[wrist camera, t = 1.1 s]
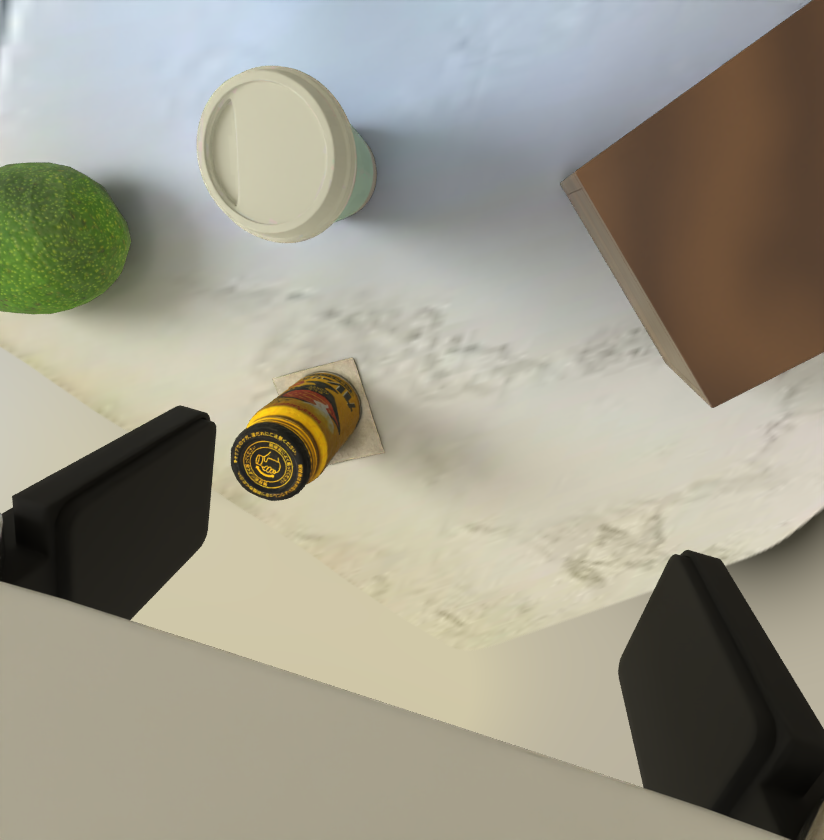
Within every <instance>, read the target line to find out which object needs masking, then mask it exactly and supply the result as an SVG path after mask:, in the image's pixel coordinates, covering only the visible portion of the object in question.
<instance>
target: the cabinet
mask: <svg viewBox="0 0 824 840" xmlns="http://www.w3.org/2000/svg"><path fill="white" fill-rule="evenodd" d="M560 185H561V187H562V188H563V190H564V192H565V193H566V195H567V197H568V198H569V200H570V202H571V204H572V205H573V207H574V209H575V210H576V212H577V214H578V215H579V217H580V219H581V220H582V222H583V224H584V226H585V227H586V229H587V231H588V232H589V234H590V236H591V237H592V239H593V241H594V243H595V244H596V246H597V248H598V249H599V251H600V253H601V254H602V256H603V258H604V259H605V261H606V263H607V265H608V266H609V268H610V270H611V271H612V273H613V275H614V276H615V278H616V280H617V282H618V283H619V285H620V287H621V288H622V290H623V292H624V293H625V295H626V297H627V298H628V300H629V302H630V304H631V305H632V307H633V309H634V310H635V312H636V314H637V315H638V317H639V319H640V321H641V322H642V324H643V326H644V327H645V329H646V331H647V332H648V334H649V336H650V337H651V339H652V341H653V343H654V344H655V346H656V348H657V349H658V351H659V353H660V354H661V356H662V358H663V360H664V361H665V363H666V364H667V365H668V366H669V367H670V368H671V369H672V370H673V371H674V372H675V373H676V374H677V375H678V376H679V377H680V378H681V379H682V380H683V381H684V382H685V383H687V384H688V385H689V386H690V387H691V388H692V389H693V390H694V391H695V392H696V393H697V394H698V395H699V396H700V397H701V398H702V399H703V400H704V401H705V402H706V403H707V404H708V405H709V406H710V407H712V408H714V407H716V406H718V405H720V404H722V403H724V402H726V401H728V400H730V399H732V398H734V397H736V396H738V395H740V394H742V393H744V392H746V391H748V390H750V389H752V388H754V387H756V386H758V385H760V384H762V383H764V382H766V381H768V380H770V379H772V378H774V377H776V376H777V375H779V374H781V373H783V372H785V371H787V370H789V369H791V368H793V367H795V366H797V365H799V364H801V363H803V362H805V361H807V360H809V359H811V358H813V357H815V356H817V355H819V354H821V353H823V352H824V0H812V1H811V2H809V3H808V4H807V5H805V6H804V7H803V8H801V9H800V10H798V11H797V12H796V13H794V14H793V15H791V16H790V17H789V18H787V19H786V20H784V21H783V22H782V23H780V24H779V25H778V26H776V27H775V28H773V29H772V30H771V31H769V32H768V33H766V34H765V35H764V36H762V37H761V38H760V39H758V40H757V41H755V42H754V43H753V44H751V45H750V46H748V47H747V48H746V49H744V50H743V51H741V52H740V53H739V54H737V55H736V56H735V57H733V58H732V59H730V60H729V61H728V62H726V63H725V64H723V65H722V66H721V67H719V68H718V69H717V70H715V71H714V72H712V73H711V74H710V75H708V76H707V77H705V78H704V79H703V80H701V81H700V82H698V83H697V84H696V85H694V86H693V87H692V88H690V89H689V90H687V91H686V92H685V93H683V94H682V95H680V96H679V97H678V98H676V99H675V100H673V101H672V102H671V103H669V104H668V105H667V106H665V107H664V108H662V109H661V110H660V111H658V112H657V113H655V114H654V115H653V116H651V117H650V118H649V119H647V120H646V121H644V122H643V123H642V124H640V125H639V126H637V127H636V128H635V129H633V130H632V131H630V132H629V133H628V134H626V135H625V136H624V137H622V138H621V139H619V140H618V141H617V142H615V143H614V144H612V145H611V146H610V147H608V148H607V149H606V150H604V151H603V152H601V153H600V154H599V155H597V156H596V157H594V158H593V159H592V160H590V161H589V162H587V163H586V164H585V165H583V166H582V167H581V168H579V169H578V170H576V171H575V172H574V173H572V174H571V175H570V176H569V177H567V178H566V179H565V180H563V181H562V182H561V183H560Z"/></svg>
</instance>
